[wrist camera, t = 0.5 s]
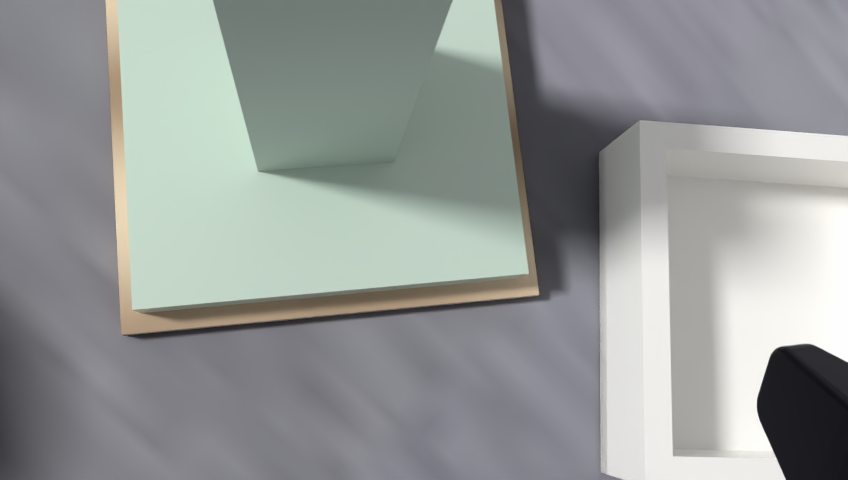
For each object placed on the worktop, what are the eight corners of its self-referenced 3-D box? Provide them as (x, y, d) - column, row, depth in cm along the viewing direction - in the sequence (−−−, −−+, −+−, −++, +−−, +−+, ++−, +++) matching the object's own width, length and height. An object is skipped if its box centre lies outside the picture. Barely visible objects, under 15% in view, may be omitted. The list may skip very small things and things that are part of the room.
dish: (904, 478, 23) (990, 492, 20) (600, 472, 22) (645, 486, 19) (882, 172, 25) (959, 144, 22) (599, 152, 24) (639, 119, 21)
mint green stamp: (519, 278, 22) (713, 181, 11) (140, 313, 21) (-47, 239, 10) (477, -59, 24) (612, -423, 13) (122, -50, 22) (-57, -451, 11)
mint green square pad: (535, 296, 23) (539, 295, 22) (124, 335, 21) (121, 334, 20) (488, -68, 24) (491, -75, 24) (106, -58, 23) (102, -66, 22)
